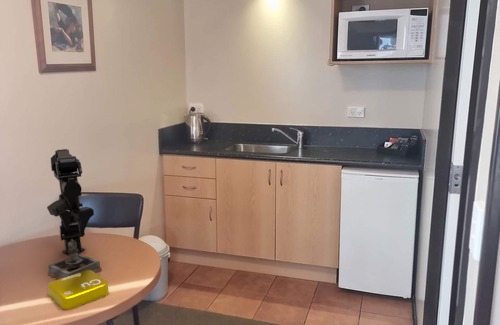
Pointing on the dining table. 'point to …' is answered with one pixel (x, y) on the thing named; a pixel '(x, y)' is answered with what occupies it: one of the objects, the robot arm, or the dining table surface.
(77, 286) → the element tile
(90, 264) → the socket
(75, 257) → the dark grey chess piece
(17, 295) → the dining table surface
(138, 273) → the dining table surface
